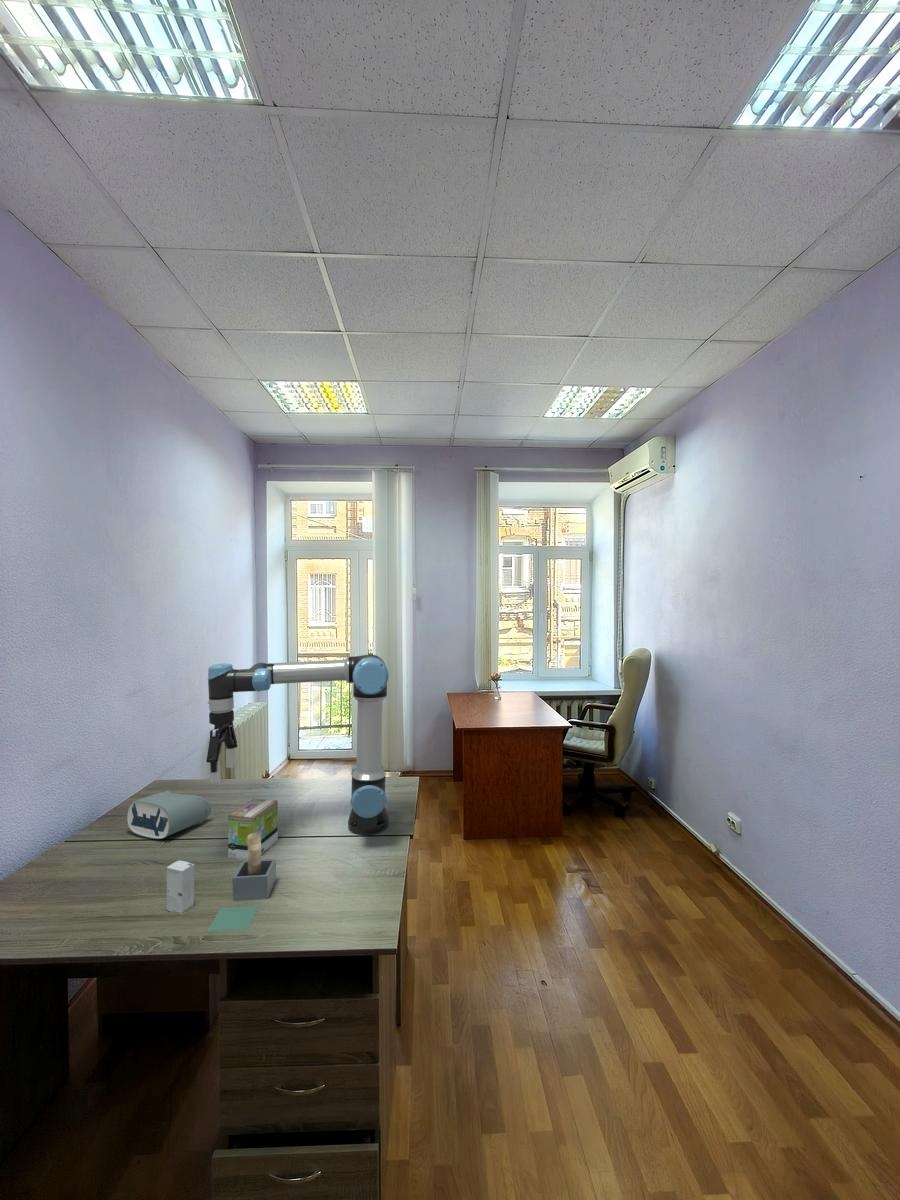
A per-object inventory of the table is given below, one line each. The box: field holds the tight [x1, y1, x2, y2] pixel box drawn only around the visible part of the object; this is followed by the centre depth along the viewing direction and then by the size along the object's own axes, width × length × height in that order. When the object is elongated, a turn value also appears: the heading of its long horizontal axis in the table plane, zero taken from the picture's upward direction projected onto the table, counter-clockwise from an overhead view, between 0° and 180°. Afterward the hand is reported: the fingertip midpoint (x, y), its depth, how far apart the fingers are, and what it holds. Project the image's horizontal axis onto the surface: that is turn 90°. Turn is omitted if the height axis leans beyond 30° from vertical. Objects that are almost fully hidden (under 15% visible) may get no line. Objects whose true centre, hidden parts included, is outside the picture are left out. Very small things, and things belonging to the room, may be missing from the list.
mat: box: [207, 905, 259, 933], centre depth 139 cm, size 10×10×1 cm
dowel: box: [247, 833, 262, 876], centre depth 152 cm, size 4×4×16 cm
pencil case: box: [125, 790, 212, 840], centre depth 196 cm, size 22×19×13 cm
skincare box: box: [166, 860, 195, 914], centre depth 144 cm, size 6×4×12 cm
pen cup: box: [232, 858, 277, 902], centre depth 152 cm, size 10×10×7 cm
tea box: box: [227, 798, 279, 860], centre depth 178 cm, size 15×10×15 cm, turn 168°
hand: (223, 774), depth 173 cm, fingers open, 13 cm apart
